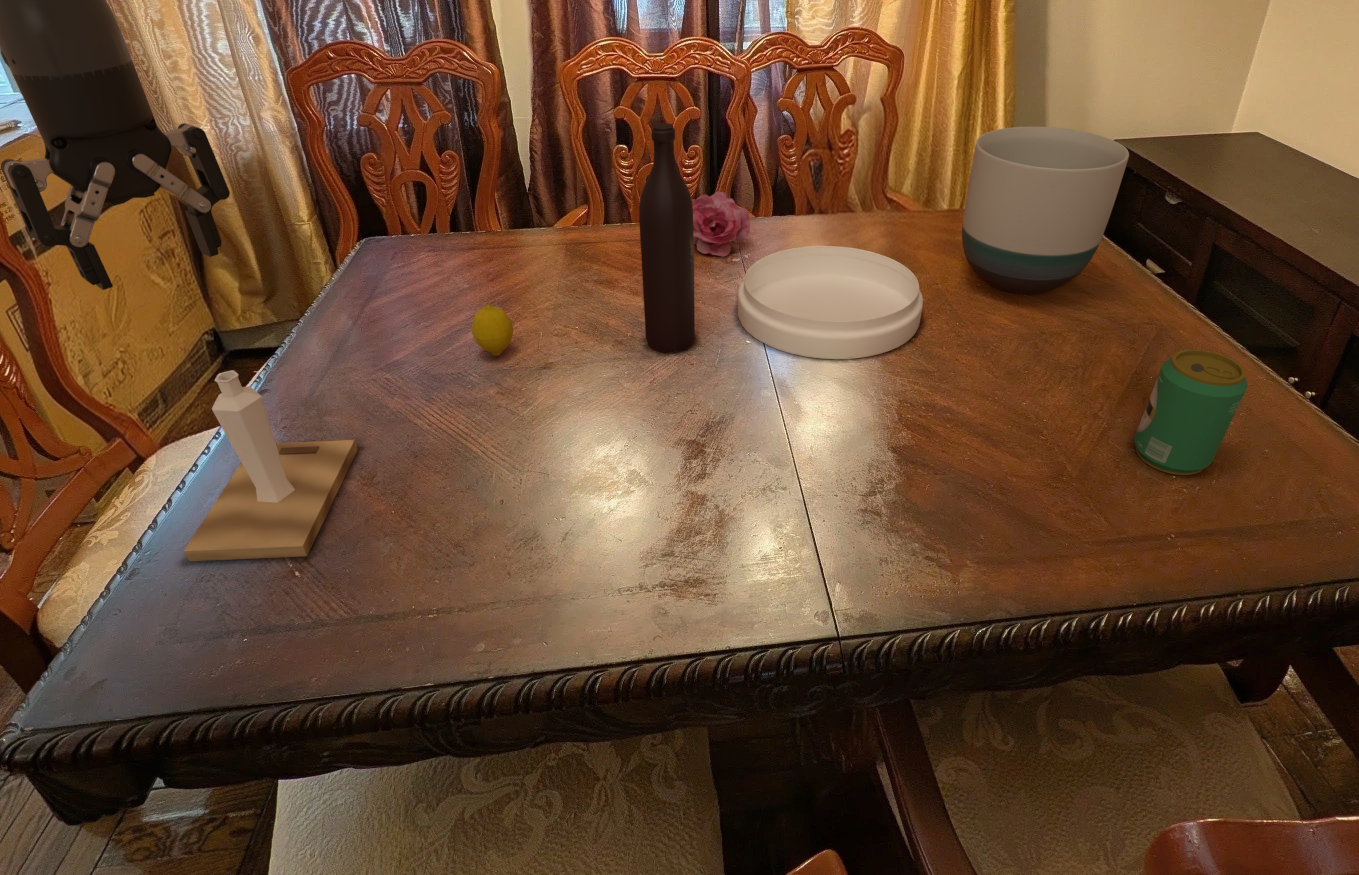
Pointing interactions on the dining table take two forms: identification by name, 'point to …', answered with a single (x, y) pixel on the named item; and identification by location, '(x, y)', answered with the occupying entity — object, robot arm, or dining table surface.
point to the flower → (718, 223)
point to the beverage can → (1189, 411)
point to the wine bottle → (667, 249)
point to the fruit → (492, 329)
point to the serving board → (275, 507)
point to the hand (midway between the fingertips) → (159, 269)
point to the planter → (1038, 204)
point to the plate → (830, 302)
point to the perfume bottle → (251, 437)
